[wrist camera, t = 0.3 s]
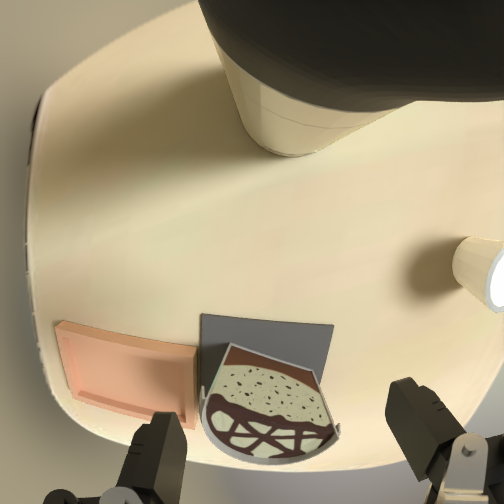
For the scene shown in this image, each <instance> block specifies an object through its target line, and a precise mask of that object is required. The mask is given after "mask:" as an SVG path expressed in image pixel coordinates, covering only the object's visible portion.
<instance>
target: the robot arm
mask: <svg viewBox="0 0 504 504" xmlns="http://www.w3.org/2000/svg"><path fill="white" fill-rule="evenodd" d="M198 2H199V5H200V7H201V10H202V12H203V15H204V18H205V20H206V23H207V25H208V28H209V31H210V34H211V36H212V39H213V42H214V44H215V47H216V50H217V53H218V55H219V58H220V60H221V63H222V66H223V68H224V71H225V74H226V77H227V80H228V83H229V85H230V88H231V91H232V94H233V97H234V100H235V103H236V106H237V109H238V112H239V115H240V118H241V120H242V123H243V126H244V128H245V129H246V131H247V133H248V134H249V136H250V137H251V138H252V139H253V140H254V141H255V142H256V143H257V144H259V145H260V146H261V147H263V148H264V149H266V150H268V151H270V152H273V153H275V154H278V155H283V156H287V157H300V156H305V155H310V154H312V153H315V152H317V151H319V150H321V149H323V148H325V147H327V146H329V145H331V144H332V143H334V142H336V141H338V140H340V139H342V138H343V137H345V136H347V135H349V134H351V133H353V132H355V131H356V130H358V129H360V128H362V127H364V126H366V125H368V124H370V123H372V122H374V121H376V120H377V119H379V118H381V117H383V116H385V115H387V114H389V113H391V112H393V111H395V110H397V109H399V108H401V107H403V106H405V105H407V104H410V103H412V102H414V101H446V102H490V101H500V100H504V0H198ZM385 417H386V421H387V424H388V425H389V427H390V429H391V431H392V433H393V435H394V436H395V438H396V440H397V442H398V444H399V446H400V448H401V449H402V451H403V453H404V455H405V457H406V459H407V461H408V462H409V464H410V466H411V468H412V470H413V472H414V474H415V476H416V478H417V480H418V481H419V482H420V481H422V480H424V479H427V478H429V480H430V481H431V484H430V485H429V488H428V492H427V495H426V498H425V501H424V504H504V434H501V435H498V436H494V437H490V438H484V437H482V436H481V435H479V434H476V433H467V432H466V431H465V430H464V429H463V427H462V426H461V425H460V424H459V422H458V421H457V420H456V418H455V417H454V416H453V415H452V413H451V412H450V411H449V410H448V408H446V406H445V405H444V403H443V402H442V401H440V398H439V397H438V396H437V395H436V393H435V392H434V391H432V390H431V389H429V388H427V387H425V386H424V385H423V386H420V387H419V386H418V385H417V384H416V382H415V381H414V380H413V379H412V378H411V377H407V378H404V379H401V380H397V381H394V382H392V383H391V384H390V389H389V394H388V399H387V404H386V408H385ZM186 455H187V440H186V437H185V434H184V431H183V429H182V426H181V424H180V421H179V419H178V416H177V414H176V412H161V411H156V412H154V414H153V417H152V420H151V423H150V424H142V426H141V427H140V428H139V429H138V430H137V431H136V432H135V433H134V436H133V439H132V442H131V445H130V447H129V450H128V454H127V456H126V458H125V461H124V464H123V467H122V470H121V473H120V476H119V479H118V482H117V484H116V486H115V487H113V488H110V489H108V490H107V491H105V492H104V493H103V494H102V496H100V497H90V498H76V497H75V496H74V494H73V493H71V492H70V491H67V490H64V489H57V490H54V491H52V492H50V493H49V494H48V495H47V496H46V498H45V499H44V502H43V504H179V500H180V493H181V487H182V480H183V474H184V468H185V461H186Z"/></svg>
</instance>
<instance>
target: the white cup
mask: <svg viewBox="0 0 504 504" xmlns="http://www.w3.org/2000/svg"><path fill="white" fill-rule="evenodd" d="M452 270H453V276H454V277H455V279H456V281H457V282H458V283H459V284H461V285H462V286H463V287H464V288H465V289H467V290H468V291H469V292H470V293H471V294H473V295H474V296H475V297H476V298H477V299H479V300H480V301H481V302H482V303H483V304H484V305H485V306H487V307H488V308H489V309H490V310H492V311H494V312H495V313H499V312H504V242H502V241H497V240H492V239H486V238H480V237H468V238H466V239H464V240H463V241H462V242H461V243H460V244H459V246H458V247H457V249H456V251H455V253H454V256H453V262H452Z"/></svg>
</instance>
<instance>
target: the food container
mask: <svg viewBox="0 0 504 504" xmlns="http://www.w3.org/2000/svg"><path fill="white" fill-rule="evenodd" d="M199 411H200V419H201V423H202V426H203V428H204V431H205V433H206V435H207V437H208V438H209V440H210V441H211V442H212V443H213V444H214V445H215V446H216V447H217V448H218V449H220V450H221V451H222V452H224V453H226V454H227V455H229V456H231V457H233V458H236V459H238V460H241V461H244V462H248V463H252V464H258V465H286V464H292V463H297V462H301V461H304V460H307V459H310V458H312V457H314V456H317V455H319V454H320V453H322V452H324V451H326V450H327V449H328V448H330V447H331V446H332V445H334V444H335V443H336V442H337V441H338V440H339V435H340V423H338V424H337V425H336V426H335V424H334V422H333V419H332V417H331V414H330V411H329V409H328V406H327V404H326V401H325V398H324V396H323V393H322V391H321V388H320V386H319V383H318V381H317V378H316V375H315V373H314V370H312V369H309V368H306V367H302V366H299V365H296V364H293V363H289V362H286V361H283V360H280V359H277V358H274V357H271V356H268V355H265V354H262V353H259V352H256V351H253V350H250V349H248V348H245V347H242V346H239V345H236V344H234V343H231V342H230V344H229V346H228V348H227V351H226V353H225V355H224V358H223V360H222V362H221V365H220V367H219V369H218V372H217V374H216V376H215V379H214V381H213V383H212V386H211V388H210V390H209V393H208V395H207V397H205V394H204V386H202V388H201V391H200V397H199Z"/></svg>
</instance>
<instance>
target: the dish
mask: <svg viewBox="0 0 504 504" xmlns="http://www.w3.org/2000/svg"><path fill="white" fill-rule="evenodd" d="M55 332H56V337H57V341H58V346H59V350H60V354H61V359H62V363H63V366H64V370H65V374H66V377H67V381H68V384H69V388H70V391H71V394H72V397H73V398H74V399H76V400H79V401H82V402H85V403H88V404H91V405H94V406H97V407H100V408H103V409H107V410H110V411H113V412H117V413H121V414H124V415H128V416H132V417H136V418H140V419H144V420H148V421H151V420H152V417H153V414H154V412H156V411H161V412H176V414H177V416H178V419H179V421H180V424H181V426H182V428H188V429H193V430H195V427H196V423H197V419H198V415H197V347H193V346H186V345H179V344H173V343H167V342H161V341H155V340H150V339H144V338H139V337H134V336H128V335H124V334H119V333H114V332H109V331H105V330H100V329H96V328H92V327H88V326H83V325H79V324H75V323H71V322H68V321H64V320H63V321H62V322H61V323H59V324H58V325H57V326H56V327H55Z"/></svg>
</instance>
